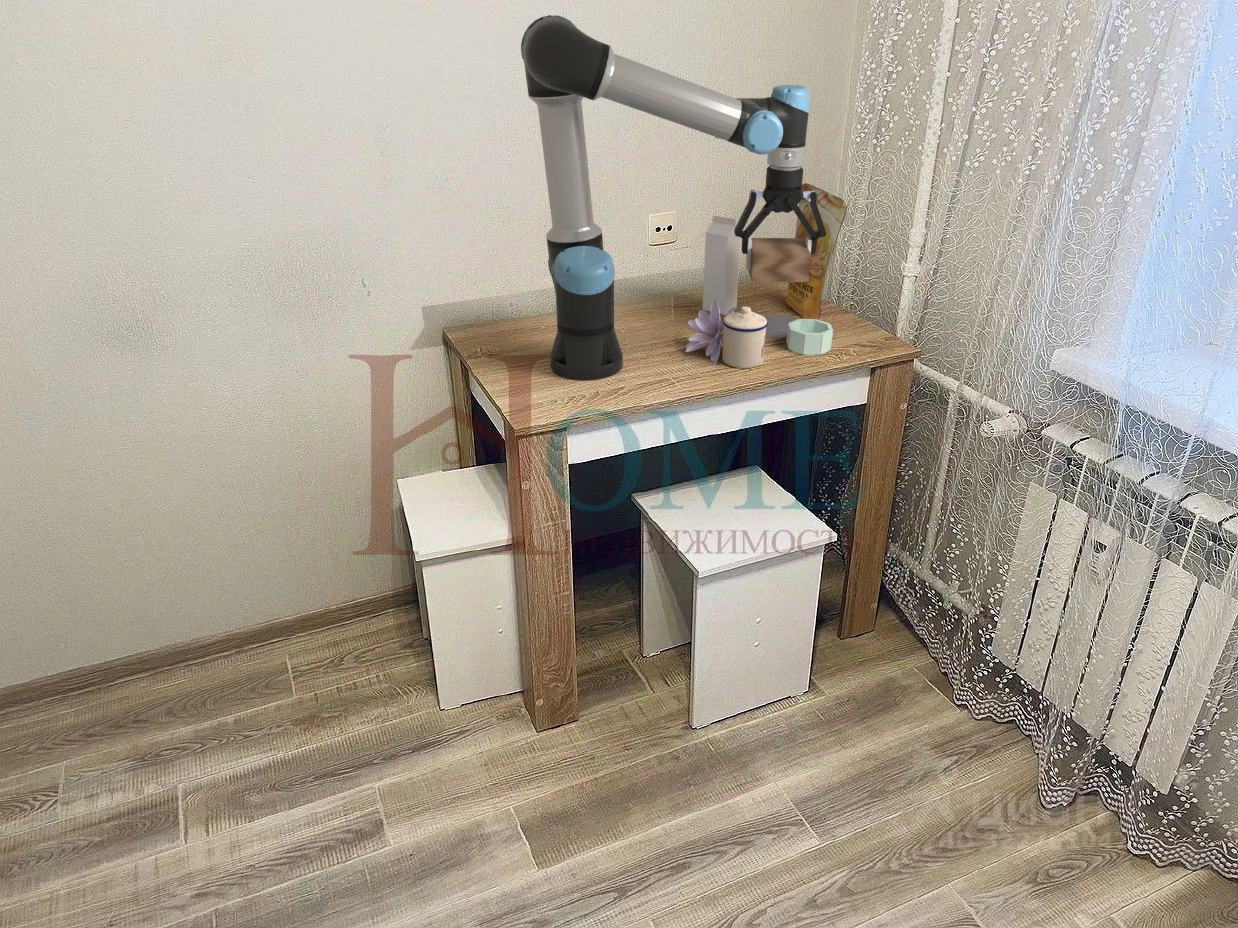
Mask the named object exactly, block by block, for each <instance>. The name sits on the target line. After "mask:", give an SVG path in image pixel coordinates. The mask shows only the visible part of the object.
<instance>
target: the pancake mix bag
mask: <svg viewBox="0 0 1238 928" xmlns="http://www.w3.org/2000/svg"><path fill="white" fill-rule="evenodd" d="M810 190H814V191H815V192H816V194H817V200H816V203H817V207H818V210H819V213H820V216H821V219H822V222H823V225H824V228H825V231H826V236H825V237H820V238H818V240H817V243H816V252H815V254H811V259H810V269H809V279H808V282H788V284H787V285H788V286H787V293H786V294H787V295H786V301H785V303H786V305H787V306H788V307H790V308H791V309H792V310H793V311H794V312H795V313H797V314H798V315H799V316H800V317H801V318H802V319H817V320H820V319H821V315H822V308H821V306H822V297H823V296H822V295H823V289H824V285H825V281H826V278H827V274H828V271H829V267H830V264H831V260H832V256H833V254H834V251H835V247H836V244H837V241H838V238H839V235H840V231H841V228H842V226H843V223H844V221H845V219H846V214H847V209H848V205H847V203H846V202H845V201H844V200H843V198H841V197H838V196H836V195H834V194H831V193H829V192H828V191H826V190H825V189H821V188H819V187H817V186H814V185H813V184H809V183H806V182H804V183H802V191H803V192H806V191H810ZM798 207H799V208H800V210H801V211H802V213H803V214H804V216H805V217H806V219H807V220H808V222H809V224H810V225H811V227H812V228H813V230H814V231H817V230H818V228H817V225H816V222H815V219H814V216H813V213H812V210H811V207H810V203H809V202H807V201H806V198H804V197H803V199H802V200H801V201H800V202H799V204H798ZM806 237H810V235H809V233H808V232H807V230H806V229H805V227H804V226H803V224H802V223H801V221H800V220H799V218H798V217H797V219H796V227H795V233H794V238H803V240H804V242H805V244H806Z"/></svg>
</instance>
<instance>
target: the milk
mask: <svg viewBox="0 0 1238 928" xmlns="http://www.w3.org/2000/svg"><path fill="white" fill-rule="evenodd" d="M711 221H712V222H711V224H710V225H709V226H708V228H707V230H706V231H705V242H704V245H705V246H704V263H703V264H704V268H703V293H702V295H703V296H702V310H703V311H705V312H711V304H712V301H713V300H714V298H715V299H716V301H717V303H718V306H719V311H720V315H723V316H725V315H726V313H727V312H728V311H729V310H730V309H731V308H733V307H735V309H737V305H738V290H739V289H738V287H739V285H738V284H739V271H740V256H741V255H740V254H741V253H740V252H741V241H742V238H741V237H736V236H735V233H734V229H735V227H736V225H737V223H736V219H735V218H731V217H723V216H718V215H713V216H712V220H711Z"/></svg>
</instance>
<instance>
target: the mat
mask: <svg viewBox="0 0 1238 928" xmlns="http://www.w3.org/2000/svg"><path fill="white" fill-rule="evenodd" d="M761 315H762V316H764V317H765V318H766V320H767V323H768V324H767V327H766V335H765V339H787V331H788V323H790V322H792V321H795V320H796V319H795V316H794V315H793V314H792V315H791V314H790V315H789V314H787V315H785V314H784V315H783V314H781V315H780V314H779V315H778V314H777V315H776V314H761Z"/></svg>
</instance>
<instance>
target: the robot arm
mask: <svg viewBox="0 0 1238 928" xmlns="http://www.w3.org/2000/svg"><path fill="white" fill-rule="evenodd" d="M520 42H521V43H520V53H521V58H522V60H523V63H524V71H525V79H526V87H527V94H528V98H529V99H530V100H531V101H533V103H535V104H536V106H537V112H538V118H539V120H538V121H539V127H540V136H541V143H542V152H543V153H542V155H543V160H544V168H545V169H544V171H545V178H546V185H547V186H546V187H547V193H548V201H549V211H550V217H551V218H550V219H551V228H550V229H549V230H548V231H547V233H546V235H545V236H546V244H547V245H546V246H547V252H548V260H547V264H548V265H547V267H548V270H549V274H550V276H551V279H552V280H551V281H552V284H553V287H554V291H555V292H554V293H555V301H556V302H555V309H556V326H557V327H556V334H555V338H554V340H553V344H552V347H551V351H550V355H549V366H550V369H551V370H552V372H553V373H554V374H557V375H558V376H561V377H563V378H567V379H572V380H580V381H583V380H586V381H589V380H598V379H603V378H608V377H610V376H613V375H616V374H617V373H618V372H620V371H621V370H622V368H623V367H624V353H623V350H622V348H621V345H620V342H619V339H618V337H617V336H618V335H617V333H616V330H615V281H614V280H615V275H616V270H615V269H616V268H615V266H614V260H613V257H612V256H611V254H609V252H608V251H606V250H604V241H603V239H604V238H603V230H602V228H601V227H600V226H599V225H598V224H597V223H596V222H594V214H593V203H592V194H591V193H592V192H591V184H590V183H591V182H590V173H589V162H588V153H587V145H586V144H587V143H586V133H585V124H584V123H585V122H584V114H583V113H584V112H583V103H582V102H583V99H584V98H585V99H588V100H591V101H596V100H598V99H600V98H602V99H606V100H609V101H612V102H615V103H618V104H620V105H624V106H625V107H629V108H631V109H635V110H638V111H640V112H643V113H647V114H648V115H651V116H655V117H657V118H660V119H663V120H666V121H669V122H673V123H675V124H677V125H679V126H682V127H683V126H684V127H686V128H688V129H692V130H695V131H698V132H700V133H703V134H706V135H709V136H712V137H714V138H715V139H719V140H723V141H725V142H729V143H731V144H734V145H736V146H739V147H743V148H745V149H747V151H749V152H750V153H753V154H757V155H767V158H766V161H767V162H766V164H767V165H769V166H767V168H766V173H765V174H766V175H765V176H766V177H765V187H764V190H763V191H758V190H757V191H756V190H755V189H751V190H750V191H749V195H748V201H747V203H746V206H745V208H744V209H743V211H742V214H741V215H740V217H739V219H738V221H737V223H736V224H735V226H736V227H735V229H734V233H735V236H736V237H741V253H742V254H743V255H745V264H744V265H745V269H746V271H748V270H750V261H751V248H752V239H751V238H752V237H751V236H752V235H753V234H754V232H755V231H756V230H757V229H758V227H760V225H761V224H762V223H763V222H764V220H765V219H766V218H767V217H768V216H770V214H771V213H772V212H773V213H776V214H778V213H785V214H788V213H789V214H790V213H791V212H792V211H793V212H794V214H795V215H796V217H797V218H799V220H800V221H801V223H802V224H803V226H804V227H805V229H806V230H807V232H808V233H809V235H810V237H806V246H807V248H808V250H809V252H810V253H811V254H815V252H816V243H817V240H818V238H820V237H825V236H826V231H825V228H824V225H823V222H822V219H821V216H820V213H819V210H818V207H817V203H816V200H817V194H816V192H815V191H814V190H810V191H806V192H803V191H802V184H803V181H804V179H803V178H804V177H803V176H804V169H803V166H804V165H805V158H806V157H805V154H806V153H805V152H806V141H807V134H808V124H809V123H808V121H809V114H810V90H809V89H808V88H807V87H806V86H803V85H797V84H784V85H783V84H781V85H776V86H774V87H773V88H772V91H771V94H770V96H767V97H748V98H747V97H739V98H735V97H732V96H730V95H727V94H724V93H721V92H718V91H716V90H714V89H711V88H708V87H706V86H702V85H700V84H696V83H694V82H692V81H689V80H686V79H684V78H680V77H678V76H675V75H673V74H670V73H667V72H665V71H663V70H659V69H656V68H654V67H651V66H648V65H646V64H642V63H640V62H638V61H636V60H635V61H634V60H633V59H630V58H627V57H625V56H621V55H618V54H616V53H615V52H614V51H613V48H612V45H610V44H606V43H604V42H601V41H599V40H596V39H594V38H593V37H591V36H589V35H588V34H586V33H585V32H584V31H582V30H580V29H579V28H578V27H577V26H576V25H575V23H573V22H572V21H571V20H569V19H568V18H566V17H564V16H561V15H552V14H548V15H546V16H545V15H544V16H541V17H539V18H537V19H535V20H534V21H533V22H531V23H530V24H529V25H528V27H527V28H526V29H525V31H524V33H523V36H522V39H521V41H520ZM803 197H804V198H806V201H807V202H809V203H810V207H811V210H812V213H813V216H814V219H815V222H816V225H817V228H818V230H817V231H814V230H813V228H812V227H811V225H810V224H809V222H808V220H807V219H806V217H805V216H804V214H803V213H802V211H801V210H800V208H799V202H800V201H801V200H802V199H803ZM761 198H763V200H764V201H765V203H764V205H762V208H761V210H760V211H759V212H758V213H757V214H756V216H755V217H754V218H753V220H751V222H750V223H749V224H748V225H747V227H746V228H745V226H746V224H747V223H748V220H749V218H750V217H751V214H752V212H753V210H754V209H755V206H756V203H758V202H759V201H760V200H761ZM744 228H745V229H744Z"/></svg>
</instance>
